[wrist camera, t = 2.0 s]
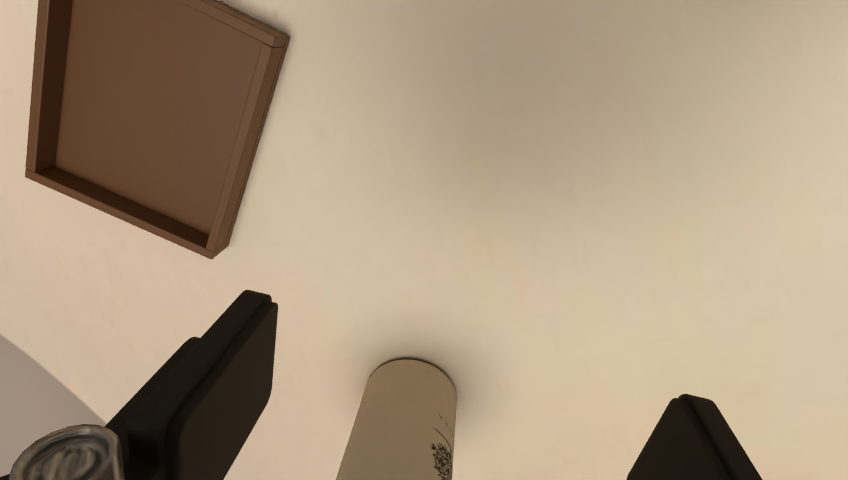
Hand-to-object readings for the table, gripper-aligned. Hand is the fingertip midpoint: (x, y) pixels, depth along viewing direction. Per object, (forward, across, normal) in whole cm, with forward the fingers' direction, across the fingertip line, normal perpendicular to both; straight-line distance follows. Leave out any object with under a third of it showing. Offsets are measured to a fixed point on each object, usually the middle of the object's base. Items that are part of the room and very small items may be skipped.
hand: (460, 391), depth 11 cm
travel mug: (+23, 0, +22) cm, 32 cm away
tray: (+23, +22, +2) cm, 32 cm away
